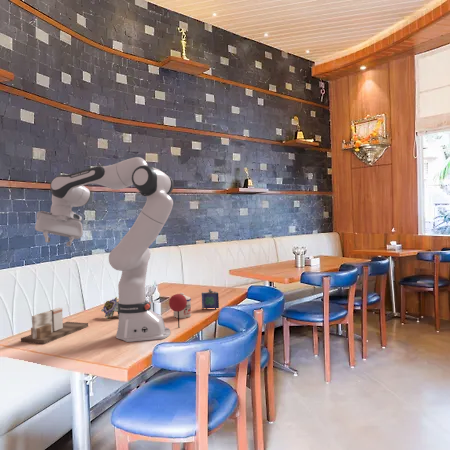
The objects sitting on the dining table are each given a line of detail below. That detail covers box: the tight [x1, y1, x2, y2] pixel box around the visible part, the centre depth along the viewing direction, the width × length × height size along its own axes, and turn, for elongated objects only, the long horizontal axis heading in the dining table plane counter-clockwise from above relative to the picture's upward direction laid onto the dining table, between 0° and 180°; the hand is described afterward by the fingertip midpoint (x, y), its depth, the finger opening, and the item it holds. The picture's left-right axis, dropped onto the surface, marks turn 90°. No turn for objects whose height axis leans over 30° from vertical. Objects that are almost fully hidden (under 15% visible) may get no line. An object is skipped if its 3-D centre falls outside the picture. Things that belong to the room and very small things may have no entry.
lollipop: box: [168, 293, 187, 328], centre depth 179 cm, size 8×8×15 cm
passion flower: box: [101, 296, 119, 320], centre depth 203 cm, size 11×11×12 cm
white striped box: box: [51, 307, 64, 331], centre depth 176 cm, size 5×2×9 cm, turn 160°
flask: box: [201, 288, 220, 309], centre depth 214 cm, size 9×3×11 cm, turn 79°
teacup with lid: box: [173, 292, 192, 319], centre depth 201 cm, size 12×9×12 cm
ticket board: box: [20, 309, 89, 345], centre depth 176 cm, size 27×12×11 cm, turn 160°
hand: (58, 244), depth 176 cm, fingers open, 8 cm apart
